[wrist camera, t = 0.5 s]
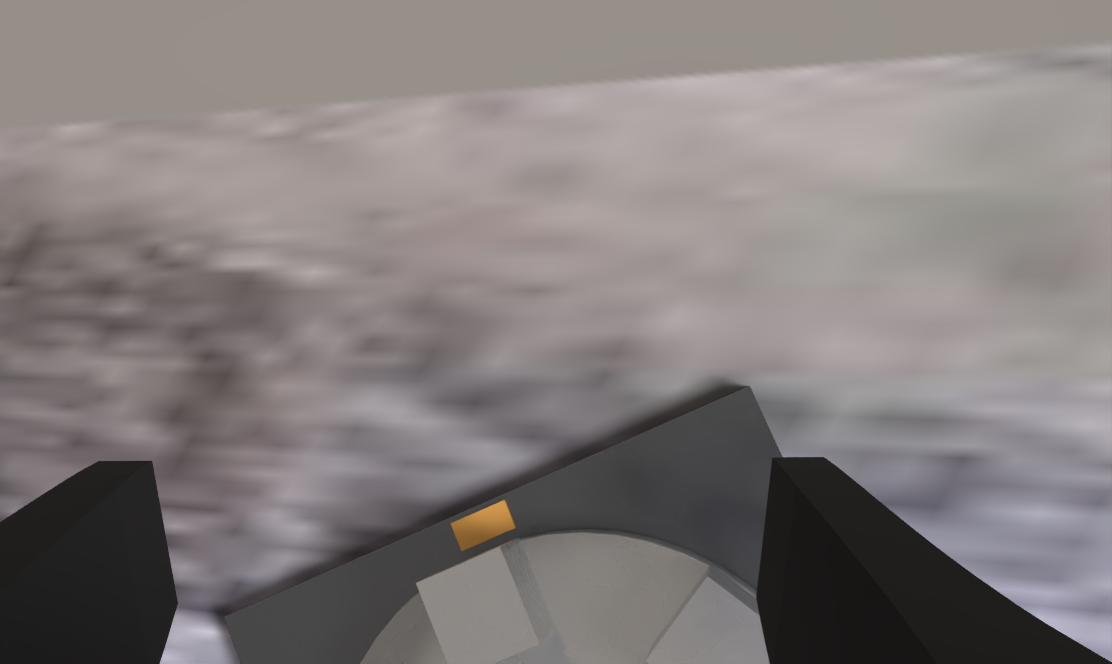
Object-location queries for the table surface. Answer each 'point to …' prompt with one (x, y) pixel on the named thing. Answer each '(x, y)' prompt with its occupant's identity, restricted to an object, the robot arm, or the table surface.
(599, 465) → the mount plate
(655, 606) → the metal disc with lugs
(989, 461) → the table surface
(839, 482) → the robot arm
